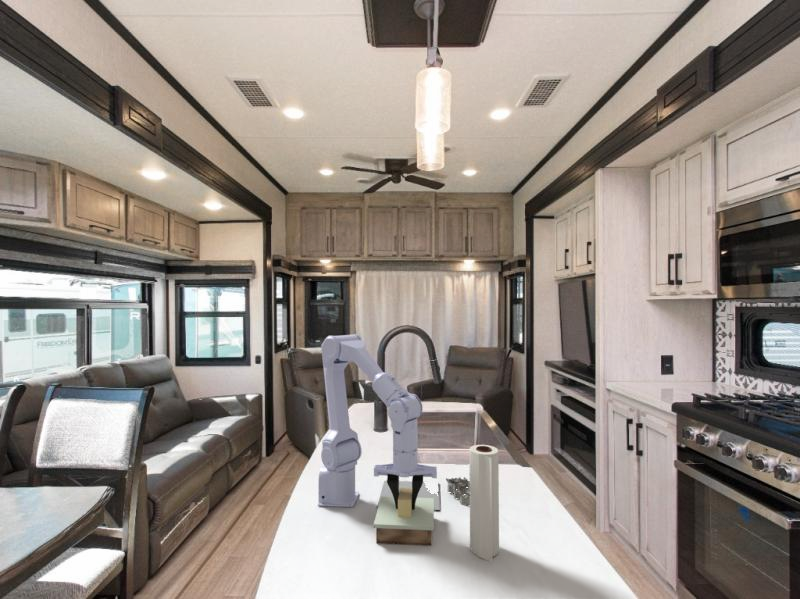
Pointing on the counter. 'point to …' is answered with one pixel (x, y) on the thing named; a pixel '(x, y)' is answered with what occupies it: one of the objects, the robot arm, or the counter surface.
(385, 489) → the mat
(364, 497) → the counter surface
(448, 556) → the counter surface
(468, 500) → the egg carton
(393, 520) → the lid
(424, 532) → the box base
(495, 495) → the paper towel roll
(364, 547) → the counter surface
